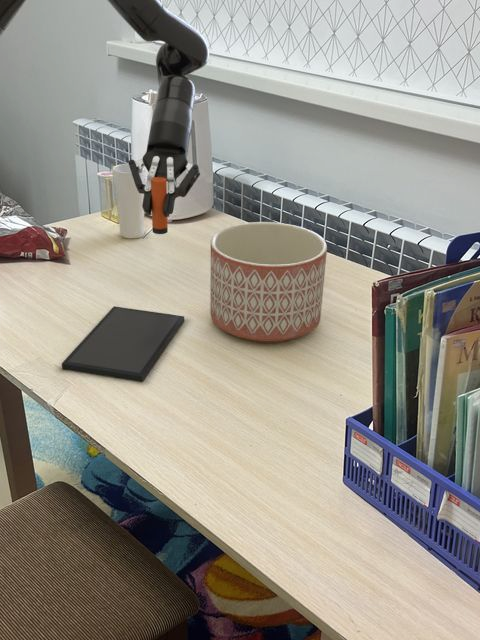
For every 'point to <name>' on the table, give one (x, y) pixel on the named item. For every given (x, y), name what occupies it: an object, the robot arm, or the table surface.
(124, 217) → the drinking glass
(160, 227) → the orange peg
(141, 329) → the tablet
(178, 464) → the table surface
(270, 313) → the planter
